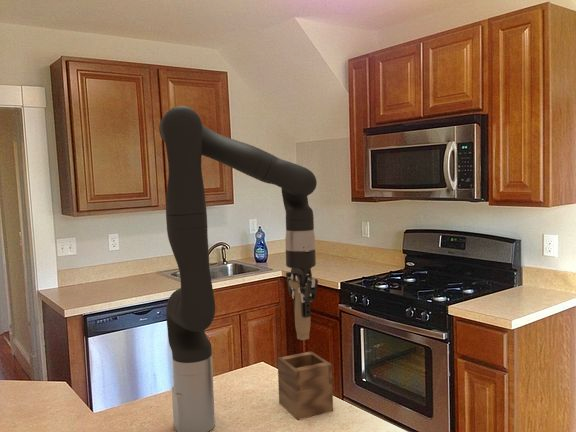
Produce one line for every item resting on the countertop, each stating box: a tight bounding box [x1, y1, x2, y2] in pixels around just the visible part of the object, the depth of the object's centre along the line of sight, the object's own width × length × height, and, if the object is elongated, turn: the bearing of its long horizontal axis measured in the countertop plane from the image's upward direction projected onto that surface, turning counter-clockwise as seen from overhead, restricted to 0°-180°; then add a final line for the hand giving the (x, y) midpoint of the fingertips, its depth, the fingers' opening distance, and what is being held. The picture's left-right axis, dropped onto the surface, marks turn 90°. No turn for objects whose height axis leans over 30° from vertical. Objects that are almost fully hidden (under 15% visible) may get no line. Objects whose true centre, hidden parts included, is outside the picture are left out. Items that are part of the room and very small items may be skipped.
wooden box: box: [277, 350, 334, 420], centre depth 130 cm, size 10×11×12 cm
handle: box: [289, 280, 311, 341], centre depth 128 cm, size 5×6×15 cm
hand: (302, 314), depth 128 cm, fingers closed on handle, 4 cm apart
